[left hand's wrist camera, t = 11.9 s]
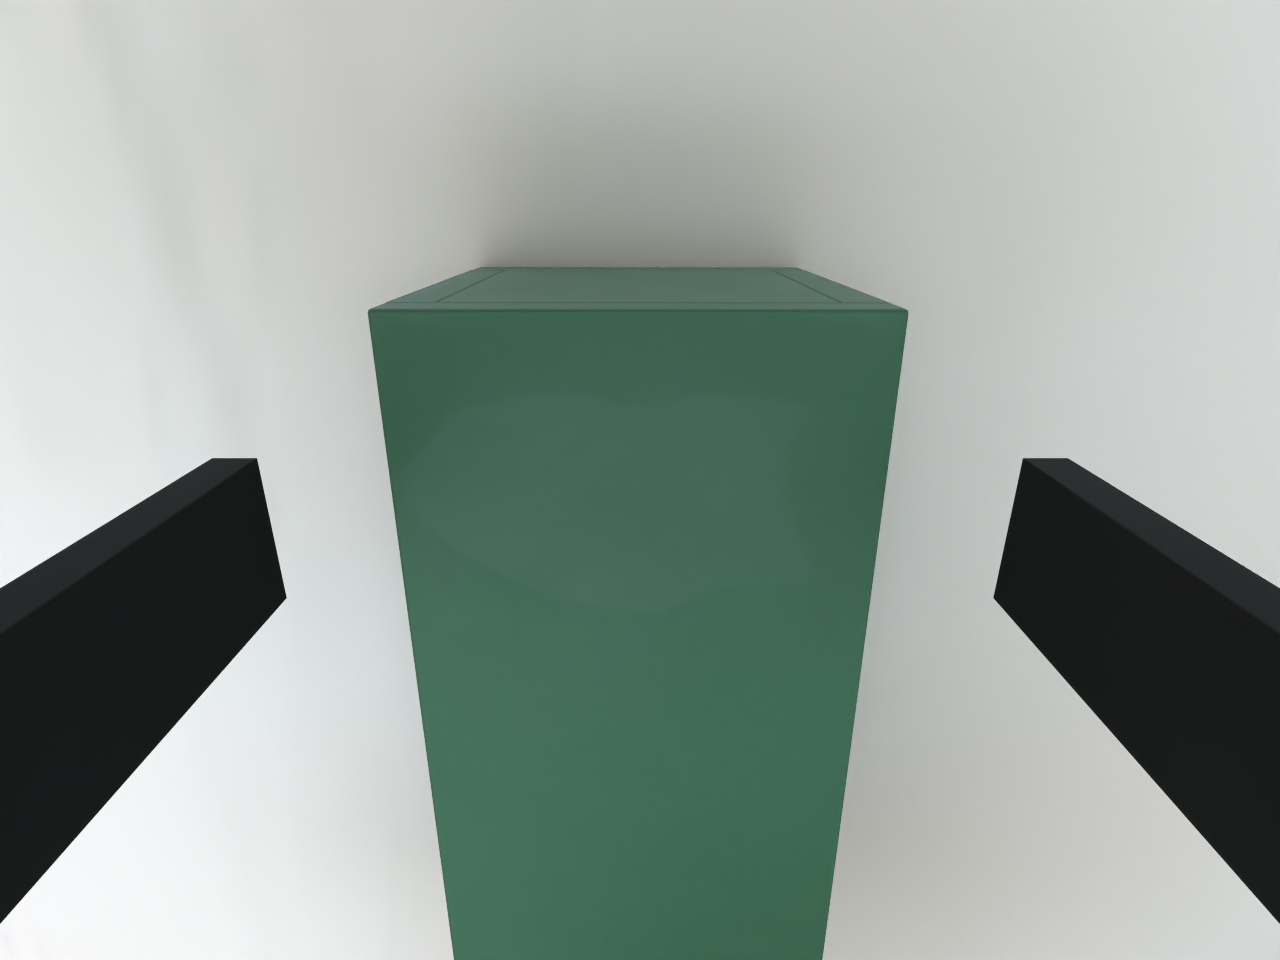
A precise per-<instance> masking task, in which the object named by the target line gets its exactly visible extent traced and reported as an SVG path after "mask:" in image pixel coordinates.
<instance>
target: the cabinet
mask: <svg viewBox="0 0 1280 960" xmlns="http://www.w3.org/2000/svg"><path fill="white" fill-rule="evenodd" d="M368 317H369V325H370V332H371V340H372V347H373V355H374V362H375V370H376V377H377V385H378V392H379V400H380V407H381V415H382V422H383V430H384V437H385V445H386V452H387V460H388V467H389V475H390V482H391V490H392V497H393V505H394V512H395V520H396V527H397V535H398V542H399V550H400V557H401V565H402V572H403V580H404V587H405V595H406V602H407V610H408V617H409V625H410V632H411V640H412V647H413V655H414V662H415V670H416V677H417V685H418V692H419V700H420V707H421V715H422V722H423V730H424V737H425V745H426V752H427V760H428V767H429V775H430V782H431V790H432V797H433V805H434V812H435V820H436V827H437V835H438V842H439V850H440V857H441V865H442V872H443V880H444V887H445V895H446V902H447V910H448V917H449V925H450V932H451V940H452V947H453V955H454V960H822V957H823V950H824V942H825V935H826V927H827V920H828V912H829V905H830V897H831V890H832V882H833V875H834V867H835V860H836V852H837V845H838V837H839V830H840V822H841V815H842V807H843V800H844V792H845V785H846V777H847V770H848V762H849V755H850V747H851V740H852V732H853V725H854V717H855V710H856V702H857V695H858V687H859V680H860V672H861V665H862V657H863V650H864V642H865V635H866V627H867V620H868V612H869V605H870V597H871V590H872V582H873V575H874V567H875V560H876V552H877V545H878V537H879V530H880V522H881V515H882V507H883V500H884V492H885V485H886V477H887V470H888V462H889V455H890V447H891V440H892V432H893V425H894V417H895V410H896V402H897V395H898V387H899V380H900V372H901V365H902V357H903V350H904V342H905V335H906V327H907V320H908V310H906V309H904V308H901V307H898V306H896V305H893V304H890V303H888V302H886V301H883V300H881V299H878V298H875V297H873V296H870V295H867V294H865V293H862V292H860V291H857V290H854V289H852V288H849V287H846V286H844V285H841V284H839V283H836V282H833V281H831V280H828V279H825V278H823V277H820V276H818V275H815V274H812V273H810V272H807V271H803V270H801V269H798V268H478V269H475V270H471V271H468V272H466V273H463V274H460V275H458V276H455V277H452V278H450V279H447V280H445V281H442V282H439V283H437V284H434V285H431V286H429V287H426V288H423V289H421V290H418V291H415V292H413V293H410V294H407V295H405V296H402V297H399V298H397V299H394V300H391V301H389V302H386V303H385V304H382V305H380V306H377V307H374V308H372V309H369V311H368Z"/></svg>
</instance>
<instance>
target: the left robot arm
mask: <svg viewBox="0 0 1280 960" xmlns="http://www.w3.org/2000/svg"><path fill="white" fill-rule="evenodd" d="M285 599H286V593H285V588H284V584H283V579H282V574H281V570H280V565H279V560H278V555H277V551H276V546H275V541H274V537H273V532H272V527H271V522H270V518H269V513H268V508H267V504H266V499H265V494H264V490H263V485H262V480H261V475H260V471H259V466H258V461H257V458H212V459H210V460H209V461H207V462H205V463H204V464H202V465H201V466H199V467H197V468H196V469H194V470H192V471H191V472H189V473H188V474H186V475H184V476H183V477H181V478H179V479H178V480H176V481H174V482H173V483H171V484H170V485H168V486H166V487H165V488H163V489H161V490H160V491H158V492H157V493H155V494H153V495H152V496H150V497H148V498H147V499H145V500H144V501H142V502H140V503H139V504H137V505H135V506H134V507H132V508H130V509H129V510H127V511H126V512H124V513H122V514H121V515H119V516H117V517H116V518H114V519H113V520H111V521H109V522H108V523H106V524H104V525H103V526H101V527H100V528H98V529H96V530H95V531H93V532H91V533H90V534H88V535H86V536H85V537H83V538H82V539H80V540H78V541H77V542H75V543H73V544H72V545H70V546H69V547H67V548H65V549H64V550H62V551H60V552H59V553H57V554H56V555H54V556H52V557H51V558H49V559H47V560H46V561H44V562H42V563H41V564H39V565H38V566H36V567H34V568H33V569H31V570H29V571H28V572H26V573H25V574H23V575H21V576H20V577H18V578H16V579H15V580H13V581H12V582H10V583H8V584H7V585H5V586H3V587H2V588H0V923H1V922H2V921H3V920H4V919H5V918H6V917H7V915H8V914H9V913H10V912H11V911H12V910H13V909H14V907H15V906H16V905H17V904H18V903H19V902H20V901H21V899H22V898H23V897H24V896H25V895H26V894H27V893H28V891H29V890H30V889H31V888H32V887H33V886H34V885H35V884H36V882H37V881H38V880H39V879H40V878H41V877H42V876H43V874H44V873H45V872H46V871H47V870H48V869H49V868H50V866H51V865H52V864H53V863H54V862H55V861H56V860H57V858H58V857H59V856H60V855H61V854H62V853H63V852H64V851H65V849H66V848H67V847H68V846H69V845H70V844H71V843H72V841H73V840H74V839H75V838H76V837H77V836H78V835H79V833H80V832H81V831H82V830H83V829H84V828H85V827H86V826H87V824H88V823H89V822H90V821H91V820H92V819H93V818H94V816H95V815H96V814H97V813H98V812H99V811H100V810H101V808H102V807H103V806H104V805H105V804H106V803H107V802H108V800H109V799H110V798H111V797H112V796H113V795H114V794H115V793H116V791H117V790H118V789H119V788H120V787H121V786H122V785H123V783H124V782H125V781H126V780H127V779H128V778H129V777H130V775H131V774H132V773H133V772H134V771H135V770H136V769H137V767H138V766H139V765H140V764H141V763H142V762H143V761H144V760H145V758H146V757H147V756H148V755H149V754H150V753H151V752H152V750H153V749H154V748H155V747H156V746H157V745H158V744H159V742H160V741H161V740H162V739H163V738H164V737H165V736H166V735H167V733H168V732H169V731H170V730H171V729H172V728H173V727H174V725H175V724H176V723H177V722H178V721H179V720H180V719H181V717H182V716H183V715H184V714H185V713H186V712H187V711H188V709H189V708H190V707H191V706H192V705H193V704H194V703H195V702H196V700H197V699H198V698H199V697H200V696H201V695H202V694H203V692H204V691H205V690H206V689H207V688H208V687H209V686H210V684H211V683H212V682H213V681H214V680H215V679H216V678H217V676H218V675H219V674H220V673H221V672H222V671H223V670H224V669H225V667H226V666H227V665H228V664H229V663H230V662H231V661H232V659H233V658H234V657H235V656H236V655H237V654H238V653H239V651H240V650H241V649H242V648H243V647H244V646H245V645H246V643H247V642H248V641H249V640H250V639H251V638H252V637H253V636H254V634H255V633H256V632H257V631H258V630H259V629H260V628H261V626H262V625H263V624H264V623H265V622H266V621H267V620H268V618H269V617H270V616H271V615H272V614H273V613H274V612H275V611H276V609H277V608H278V607H279V606H280V605H281V604H282V603H283V601H284V600H285ZM994 599H995V600H996V601H997V603H998V604H999V605H1000V606H1001V607H1002V608H1003V609H1004V611H1005V612H1006V613H1007V614H1008V615H1009V616H1010V617H1011V618H1012V620H1013V621H1014V622H1015V623H1016V624H1017V625H1018V626H1019V628H1020V629H1021V630H1022V631H1023V632H1024V633H1025V634H1026V636H1027V637H1028V638H1029V639H1030V640H1031V641H1032V642H1033V643H1034V645H1035V646H1036V647H1037V648H1038V649H1039V650H1040V651H1041V653H1042V654H1043V655H1044V656H1045V657H1046V658H1047V659H1048V661H1049V662H1050V663H1051V664H1052V665H1053V666H1054V667H1055V669H1056V670H1057V671H1058V672H1059V673H1060V674H1061V675H1062V676H1063V678H1064V679H1065V680H1066V681H1067V682H1068V683H1069V684H1070V686H1071V687H1072V688H1073V689H1074V690H1075V691H1076V692H1077V694H1078V695H1079V696H1080V697H1081V698H1082V699H1083V700H1084V702H1085V703H1086V704H1087V705H1088V706H1089V707H1090V708H1091V709H1092V711H1093V712H1094V713H1095V714H1096V715H1097V716H1098V717H1099V719H1100V720H1101V721H1102V722H1103V723H1104V724H1105V725H1106V727H1107V728H1108V729H1109V730H1110V731H1111V732H1112V733H1113V735H1114V736H1115V737H1116V738H1117V739H1118V740H1119V741H1120V742H1121V744H1122V745H1123V746H1124V747H1125V748H1126V749H1127V750H1128V752H1129V753H1130V754H1131V755H1132V756H1133V757H1134V758H1135V760H1136V761H1137V762H1138V763H1139V764H1140V765H1141V766H1142V767H1143V769H1144V770H1145V771H1146V772H1147V773H1148V774H1149V775H1150V777H1151V778H1152V779H1153V780H1154V781H1155V782H1156V783H1157V785H1158V786H1159V787H1160V788H1161V789H1162V790H1163V791H1164V793H1165V794H1166V795H1167V796H1168V797H1169V798H1170V799H1171V800H1172V802H1173V803H1174V804H1175V805H1176V806H1177V807H1178V808H1179V810H1180V811H1181V812H1182V813H1183V814H1184V815H1185V816H1186V818H1187V819H1188V820H1189V821H1190V822H1191V823H1192V824H1193V826H1194V827H1195V828H1196V829H1197V830H1198V831H1199V832H1200V833H1201V835H1202V836H1203V837H1204V838H1205V839H1206V840H1207V841H1208V843H1209V844H1210V845H1211V846H1212V847H1213V848H1214V849H1215V851H1216V852H1217V853H1218V854H1219V855H1220V856H1221V857H1222V858H1223V860H1224V861H1225V862H1226V863H1227V864H1228V865H1229V866H1230V868H1231V869H1232V870H1233V871H1234V872H1235V873H1236V874H1237V876H1238V877H1239V878H1240V879H1241V880H1242V881H1243V882H1244V884H1245V885H1246V886H1247V887H1248V888H1249V889H1250V890H1251V891H1252V893H1253V894H1254V895H1255V896H1256V897H1257V898H1258V899H1259V901H1260V902H1261V903H1262V904H1263V905H1264V906H1265V907H1266V909H1267V910H1268V911H1269V912H1270V913H1271V914H1272V915H1273V917H1274V918H1275V919H1276V920H1277V921H1278V922H1279V923H1280V588H1278V587H1277V586H1275V585H1273V584H1272V583H1270V582H1268V581H1267V580H1265V579H1264V578H1262V577H1260V576H1259V575H1257V574H1255V573H1254V572H1252V571H1251V570H1249V569H1247V568H1246V567H1244V566H1242V565H1241V564H1239V563H1238V562H1236V561H1234V560H1233V559H1231V558H1229V557H1228V556H1226V555H1224V554H1223V553H1221V552H1220V551H1218V550H1216V549H1215V548H1213V547H1211V546H1210V545H1208V544H1207V543H1205V542H1203V541H1202V540H1200V539H1198V538H1197V537H1195V536H1194V535H1192V534H1190V533H1189V532H1187V531H1185V530H1184V529H1182V528H1180V527H1179V526H1177V525H1176V524H1174V523H1172V522H1171V521H1169V520H1167V519H1166V518H1164V517H1163V516H1161V515H1159V514H1158V513H1156V512H1154V511H1153V510H1151V509H1150V508H1148V507H1146V506H1145V505H1143V504H1141V503H1140V502H1138V501H1136V500H1135V499H1133V498H1132V497H1130V496H1128V495H1127V494H1125V493H1123V492H1122V491H1120V490H1119V489H1117V488H1115V487H1114V486H1112V485H1110V484H1109V483H1107V482H1105V481H1104V480H1102V479H1101V478H1099V477H1097V476H1096V475H1094V474H1092V473H1091V472H1089V471H1088V470H1086V469H1084V468H1083V467H1081V466H1079V465H1078V464H1076V463H1075V462H1073V461H1071V460H1070V459H1068V458H1023V461H1022V466H1021V471H1020V475H1019V480H1018V485H1017V489H1016V494H1015V499H1014V504H1013V508H1012V513H1011V518H1010V522H1009V527H1008V532H1007V537H1006V541H1005V546H1004V551H1003V555H1002V560H1001V565H1000V570H999V574H998V579H997V584H996V588H995V593H994Z"/></svg>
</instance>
